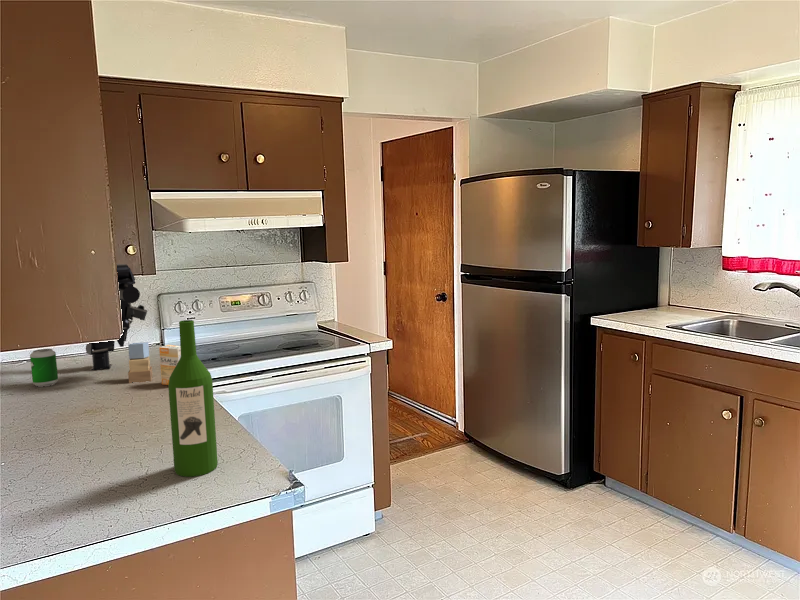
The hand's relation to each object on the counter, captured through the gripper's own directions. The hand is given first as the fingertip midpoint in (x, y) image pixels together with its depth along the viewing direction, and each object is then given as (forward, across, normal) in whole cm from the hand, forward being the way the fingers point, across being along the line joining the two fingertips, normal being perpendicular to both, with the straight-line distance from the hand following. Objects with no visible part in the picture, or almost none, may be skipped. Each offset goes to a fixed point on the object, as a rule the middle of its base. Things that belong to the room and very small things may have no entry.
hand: (123, 343), depth 207 cm
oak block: (+8, -6, -5) cm, 11 cm away
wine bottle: (+10, -95, -22) cm, 98 cm away
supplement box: (+12, -17, -17) cm, 27 cm away
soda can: (+13, +2, +25) cm, 29 cm away
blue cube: (+4, -4, -5) cm, 8 cm away
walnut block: (+12, -6, -5) cm, 15 cm away
